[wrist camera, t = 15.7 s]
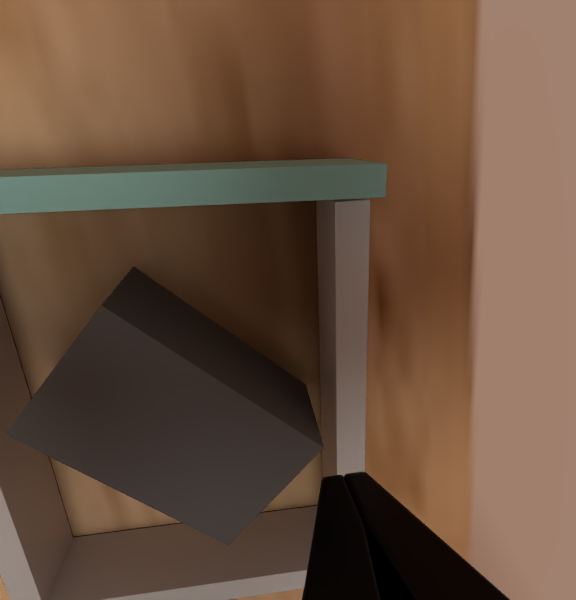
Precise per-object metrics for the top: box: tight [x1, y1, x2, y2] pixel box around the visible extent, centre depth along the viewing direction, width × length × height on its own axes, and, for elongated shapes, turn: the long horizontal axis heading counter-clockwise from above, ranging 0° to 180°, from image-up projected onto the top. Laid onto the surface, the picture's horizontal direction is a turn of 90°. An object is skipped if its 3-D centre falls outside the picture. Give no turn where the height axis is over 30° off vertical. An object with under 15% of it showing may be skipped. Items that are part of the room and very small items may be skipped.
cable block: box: [5, 267, 324, 545], centre depth 15 cm, size 5×8×4 cm, turn 50°
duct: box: [0, 198, 370, 600], centre depth 14 cm, size 17×15×4 cm
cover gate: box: [0, 158, 387, 214], centre depth 12 cm, size 1×13×4 cm, turn 91°
